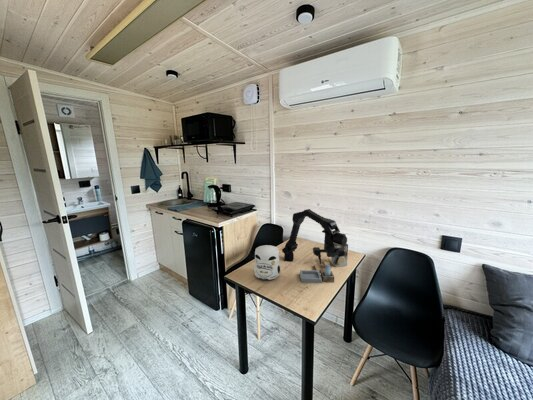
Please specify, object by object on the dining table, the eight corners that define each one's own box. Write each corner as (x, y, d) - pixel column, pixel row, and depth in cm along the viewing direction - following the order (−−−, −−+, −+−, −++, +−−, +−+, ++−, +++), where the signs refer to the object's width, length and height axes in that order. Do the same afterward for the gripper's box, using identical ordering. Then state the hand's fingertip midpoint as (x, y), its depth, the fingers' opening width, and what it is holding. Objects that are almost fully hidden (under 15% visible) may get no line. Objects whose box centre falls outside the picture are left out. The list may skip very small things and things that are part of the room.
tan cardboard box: (316, 273, 145) (316, 270, 144) (314, 267, 154) (314, 263, 153) (325, 273, 145) (325, 270, 144) (322, 267, 153) (322, 263, 153)
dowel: (324, 280, 136) (325, 267, 135) (323, 277, 140) (324, 264, 138) (330, 280, 136) (331, 267, 134) (329, 277, 140) (330, 264, 138)
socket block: (322, 281, 135) (322, 276, 134) (320, 275, 142) (320, 270, 141) (334, 282, 134) (334, 277, 134) (331, 276, 141) (331, 271, 141)
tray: (301, 282, 134) (301, 278, 134) (299, 273, 145) (300, 270, 144) (321, 283, 134) (321, 279, 133) (318, 274, 144) (318, 270, 143)
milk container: (259, 285, 132) (258, 258, 128) (250, 271, 147) (249, 246, 144) (284, 279, 138) (285, 253, 134) (273, 266, 154) (273, 242, 150)
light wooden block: (324, 271, 147) (325, 264, 146) (323, 268, 151) (324, 261, 150) (329, 271, 147) (329, 264, 146) (328, 268, 151) (328, 261, 150)
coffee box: (341, 261, 161) (343, 241, 157) (347, 265, 155) (348, 244, 151) (330, 263, 158) (332, 242, 155) (335, 267, 152) (337, 246, 149)
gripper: (316, 245, 125) (314, 270, 129) (348, 246, 124) (346, 271, 128) (313, 238, 136) (312, 261, 140) (343, 239, 135) (341, 262, 138)
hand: (327, 263), depth 136 cm, fingers open, 9 cm apart
